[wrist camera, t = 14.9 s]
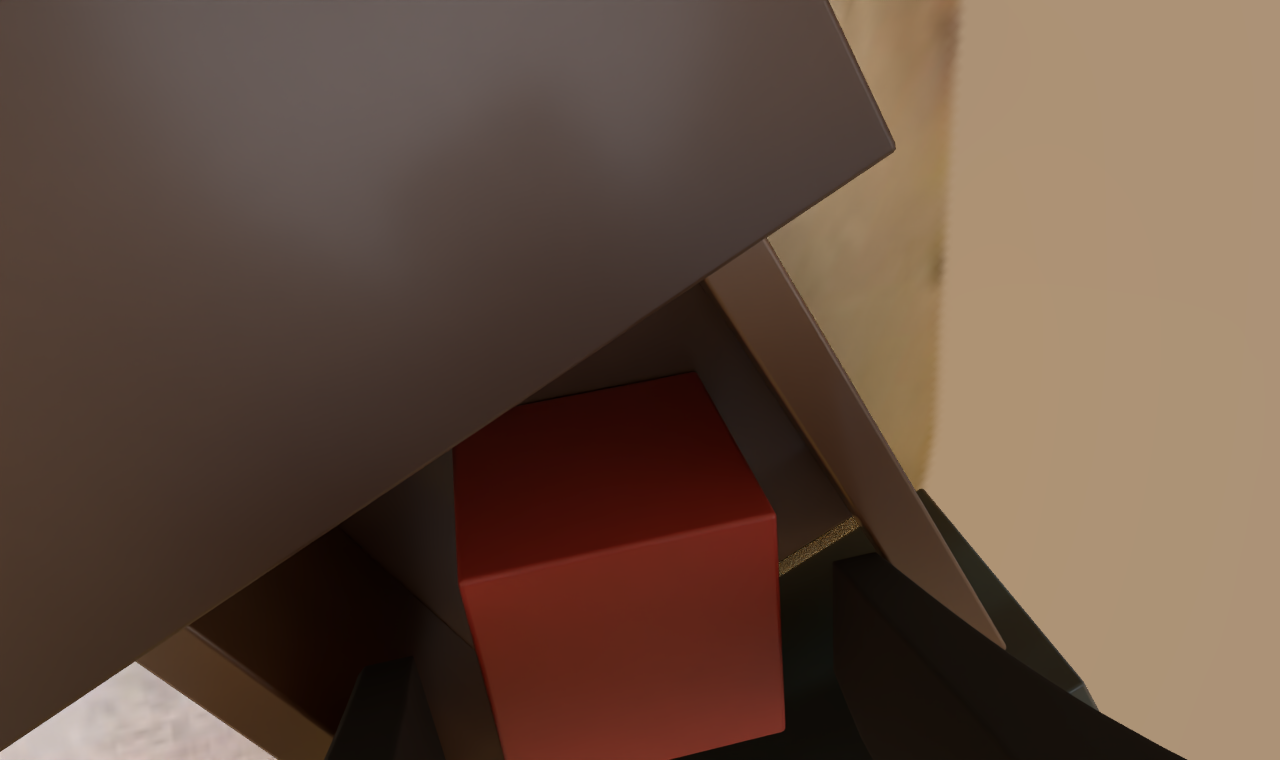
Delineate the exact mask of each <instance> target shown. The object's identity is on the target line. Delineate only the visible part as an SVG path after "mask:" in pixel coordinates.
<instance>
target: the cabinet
mask: <svg viewBox="0 0 1280 760" xmlns="http://www.w3.org/2000/svg"><path fill="white" fill-rule="evenodd" d="M895 149H896V147H895V142H894V140H893V137H892V135H891V133H890V131H889V129H888V127H887V125H886V122H885V120H884V118H883V116H882V114H881V112H880V110H879V107H878V105H877V103H876V101H875V99H874V97H873V95H872V93H871V90H870V88H869V86H868V84H867V82H866V80H865V78H864V75H863V73H862V71H861V69H860V67H859V65H858V63H857V61H856V58H855V56H854V54H853V52H852V50H851V48H850V46H849V43H848V41H847V39H846V37H845V35H844V33H843V31H842V28H841V26H840V24H839V22H838V20H837V18H836V16H835V14H834V11H833V9H832V7H831V5H830V3H829V1H828V0H0V752H1V751H2V750H4V749H5V748H7V747H8V746H10V745H11V744H13V743H14V742H16V741H17V740H18V739H20V738H21V737H23V736H24V735H26V734H27V733H29V732H30V731H32V730H33V729H35V728H36V727H38V726H39V725H41V724H42V723H44V722H45V721H47V720H48V719H50V718H51V717H53V716H54V715H56V714H57V713H59V712H60V711H62V710H63V709H65V708H66V707H68V706H69V705H71V704H72V703H74V702H75V701H77V700H78V699H80V698H81V697H83V696H84V695H86V694H87V693H89V692H90V691H91V690H93V689H94V688H96V687H97V686H99V685H100V684H102V683H103V682H105V681H106V680H108V679H109V678H111V677H112V676H114V675H115V674H117V673H118V672H120V671H121V670H123V669H124V668H126V667H127V666H129V665H130V664H132V663H133V662H135V661H136V660H138V659H139V658H141V657H142V656H144V655H145V654H147V653H148V652H150V651H151V650H153V649H154V648H156V647H157V646H159V645H160V644H162V643H163V642H164V641H166V640H167V639H169V638H170V637H172V636H173V635H175V634H176V633H178V632H179V631H181V630H182V629H184V628H185V627H187V626H188V625H190V624H191V623H193V622H194V621H196V620H197V619H199V618H200V617H202V616H203V615H205V614H206V613H208V612H209V611H211V610H212V609H214V608H215V607H217V606H218V605H220V604H221V603H223V602H224V601H226V600H227V599H229V598H230V597H232V596H233V595H235V594H236V593H237V592H239V591H240V590H242V589H243V588H245V587H246V586H248V585H249V584H251V583H252V582H254V581H255V580H257V579H258V578H260V577H261V576H263V575H264V574H266V573H267V572H269V571H270V570H272V569H273V568H275V567H276V566H278V565H279V564H281V563H282V562H284V561H285V560H287V559H288V558H290V557H291V556H293V555H294V554H296V553H297V552H299V551H300V550H302V549H303V548H305V547H306V546H308V545H309V544H310V543H312V542H313V541H315V540H316V539H318V538H319V537H321V536H322V535H324V534H325V533H327V532H328V531H330V530H331V529H333V528H334V527H336V526H337V525H339V524H340V523H342V522H343V521H345V520H346V519H348V518H349V517H351V516H352V515H354V514H355V513H357V512H358V511H360V510H361V509H363V508H364V507H366V506H367V505H369V504H370V503H372V502H373V501H375V500H376V499H378V498H379V497H380V496H382V495H383V494H385V493H386V492H388V491H389V490H391V489H392V488H394V487H395V486H397V485H398V484H400V483H401V482H403V481H404V480H406V479H407V478H409V477H410V476H412V475H413V474H415V473H416V472H418V471H419V470H421V469H422V468H424V467H425V466H427V465H428V464H430V463H431V462H433V461H434V460H436V459H437V458H439V457H440V456H442V455H443V454H445V453H446V452H448V451H449V450H451V449H452V448H453V447H455V446H456V445H458V444H459V443H461V442H462V441H464V440H465V439H467V438H468V437H470V436H471V435H473V434H474V433H476V432H477V431H479V430H480V429H482V428H483V427H485V426H486V425H488V424H489V423H491V422H492V421H494V420H495V419H497V418H498V417H500V416H501V415H503V414H504V413H506V412H507V411H509V410H510V409H512V408H513V407H515V406H516V405H518V404H519V403H521V402H522V401H524V400H525V399H526V398H528V397H529V396H531V395H532V394H534V393H535V392H537V391H538V390H540V389H541V388H543V387H544V386H546V385H547V384H549V383H550V382H552V381H553V380H555V379H556V378H558V377H559V376H561V375H562V374H564V373H565V372H567V371H568V370H570V369H571V368H573V367H574V366H576V365H577V364H579V363H580V362H582V361H583V360H585V359H586V358H588V357H589V356H591V355H592V354H594V353H595V352H597V351H598V350H599V349H601V348H602V347H604V346H605V345H607V344H608V343H610V342H611V341H613V340H614V339H616V338H617V337H619V336H620V335H622V334H623V333H625V332H626V331H628V330H629V329H631V328H632V327H634V326H635V325H637V324H638V323H640V322H641V321H643V320H644V319H646V318H647V317H649V316H650V315H652V314H653V313H655V312H656V311H658V310H659V309H661V308H662V307H664V306H665V305H667V304H668V303H670V302H671V301H672V300H674V299H675V298H677V297H678V296H680V295H681V294H683V293H684V292H686V291H687V290H689V289H690V288H692V287H693V286H695V285H696V284H698V283H699V282H701V281H702V280H704V279H705V278H707V277H708V276H710V275H711V274H713V273H714V272H716V271H717V270H719V269H720V268H722V267H723V266H725V265H726V264H728V263H729V262H731V261H732V260H734V259H735V258H737V257H738V256H740V255H741V254H743V253H744V252H745V251H747V250H748V249H750V248H751V247H753V246H754V245H756V244H757V243H759V242H760V241H762V240H763V239H765V238H766V237H768V236H769V235H771V234H772V233H774V232H775V231H777V230H778V229H780V228H781V227H783V226H784V225H786V224H787V223H789V222H790V221H792V220H793V219H795V218H796V217H798V216H799V215H801V214H802V213H804V212H805V211H807V210H808V209H810V208H811V207H813V206H814V205H816V204H817V203H818V202H820V201H821V200H823V199H824V198H826V197H827V196H829V195H830V194H832V193H833V192H835V191H836V190H838V189H839V188H841V187H842V186H844V185H845V184H847V183H848V182H850V181H851V180H853V179H854V178H856V177H857V176H859V175H860V174H862V173H863V172H865V171H866V170H868V169H869V168H871V167H872V166H874V165H875V164H877V163H878V162H880V161H881V160H883V159H884V158H886V157H887V156H889V155H890V154H891V153H893V152H894V151H895Z"/></svg>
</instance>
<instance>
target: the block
mask: <svg viewBox="0 0 1280 760" xmlns="http://www.w3.org/2000/svg"><path fill="white" fill-rule="evenodd" d="M452 459H453V483H454V507H455V530H456V554H457V578H458V587H459V591H460V595H461V598H462V602H463V606H464V610H465V613H466V617H467V621H468V625H469V628H470V632H471V636H472V640H473V643H474V647H475V651H476V654H477V658H478V662H479V666H480V669H481V673H482V677H483V681H484V684H485V688H486V692H487V696H488V699H489V703H490V707H491V711H492V714H493V718H494V722H495V726H496V729H497V733H498V737H499V741H500V744H501V748H502V752H503V756H504V759H505V760H670V759H675V758H679V757H683V756H687V755H691V754H695V753H699V752H703V751H707V750H711V749H715V748H719V747H723V746H727V745H731V744H735V743H739V742H743V741H747V740H751V739H755V738H759V737H763V736H767V735H771V734H776V733H780V732H782V731H784V730H785V703H784V680H783V656H782V633H781V609H780V586H779V562H778V539H777V515H776V513H775V512H774V510H773V508H772V506H771V505H770V503H769V501H768V499H767V497H766V496H765V494H764V492H763V490H762V488H761V487H760V485H759V483H758V481H757V479H756V478H755V476H754V474H753V472H752V471H751V469H750V467H749V465H748V463H747V462H746V460H745V458H744V456H743V454H742V453H741V451H740V449H739V447H738V445H737V444H736V442H735V440H734V438H733V437H732V435H731V433H730V431H729V429H728V428H727V426H726V424H725V422H724V420H723V419H722V417H721V415H720V413H719V411H718V410H717V408H716V406H715V404H714V403H713V401H712V399H711V397H710V395H709V394H708V392H707V390H706V388H705V386H704V385H703V383H702V381H701V379H700V377H699V376H698V374H697V373H696V372H690V373H685V374H679V375H674V376H669V377H664V378H659V379H654V380H649V381H643V382H638V383H633V384H628V385H623V386H618V387H612V388H607V389H602V390H597V391H592V392H587V393H582V394H576V395H571V396H566V397H561V398H556V399H551V400H545V401H540V402H535V403H530V404H525V405H520V406H515V407H513V408H512V409H510V410H509V411H507V412H506V413H504V414H503V415H501V416H500V417H498V418H497V419H495V420H494V421H492V422H491V423H489V424H488V425H486V426H485V427H483V428H482V429H480V430H479V431H477V432H476V433H474V434H473V435H471V436H470V437H468V438H467V439H465V440H464V441H462V442H461V443H459V444H458V445H456V446H455V447H453V448H452Z"/></svg>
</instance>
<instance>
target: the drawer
mask: <svg viewBox="0 0 1280 760" xmlns="http://www.w3.org/2000/svg"><path fill="white" fill-rule="evenodd" d="M690 372H696V373H697V374H698V376H699V377H700V379H701V381H702V383H703V385H704V386H705V388H706V390H707V392H708V394H709V395H710V397H711V399H712V401H713V403H714V404H715V406H716V408H717V410H718V411H719V413H720V415H721V417H722V419H723V420H724V422H725V424H726V426H727V428H728V429H729V431H730V433H731V435H732V437H733V438H734V440H735V442H736V444H737V445H738V447H739V449H740V451H741V453H742V454H743V456H744V458H745V460H746V462H747V463H748V465H749V467H750V469H751V471H752V472H753V474H754V476H755V478H756V479H757V481H758V483H759V485H760V487H761V488H762V490H763V492H764V494H765V496H766V497H767V499H768V501H769V503H770V505H771V506H772V508H773V510H774V512H775V513H776V515H777V539H778V562H780V561H782V560H784V559H785V558H787V557H788V556H790V555H792V554H793V553H795V552H796V551H798V550H800V549H801V548H803V547H804V546H806V545H807V544H809V543H811V542H812V541H814V540H815V539H817V538H819V537H820V536H822V535H823V534H825V533H827V532H828V531H830V530H831V529H833V528H835V527H836V526H838V525H839V524H841V523H843V522H844V521H846V520H847V519H849V518H851V517H852V516H853V518H854V519H855V521H856V522H857V524H858V525H859V527H858V528H857V529H855V530H853V531H852V532H850V533H849V534H847V535H845V536H844V537H842V538H841V539H839V540H837V541H836V542H834V543H833V544H831V545H830V546H828V547H826V548H825V549H823V550H822V551H820V552H818V553H817V554H815V555H814V556H812V557H810V558H809V559H807V560H806V561H804V562H802V563H801V564H799V565H798V566H796V567H794V568H793V569H791V570H790V571H788V572H786V573H785V574H783V575H782V576H780V577H779V586H780V609H781V633H782V656H783V680H784V703H785V730H784V731H782V732H780V733H776V734H771V735H767V736H763V737H759V738H755V739H751V740H747V741H743V742H739V743H735V744H731V745H727V746H723V747H719V748H715V749H711V750H707V751H703V752H699V753H695V754H691V755H687V756H683V757H679V758H675V759H670V760H873V759H872V757H871V755H870V753H869V752H868V750H867V748H866V746H865V744H864V742H863V740H862V738H861V736H860V734H859V731H858V729H857V727H856V724H855V722H854V720H853V717H852V715H851V713H850V710H849V708H848V705H847V703H846V700H845V698H844V696H843V693H842V691H841V688H840V686H839V683H838V681H837V678H836V676H835V673H834V671H833V561H837V560H841V559H845V558H850V557H854V556H859V555H863V554H868V553H872V552H876V553H877V554H879V555H880V556H881V557H883V558H884V559H885V560H887V561H888V562H889V563H891V564H892V565H893V566H894V567H896V568H897V569H898V570H900V571H901V572H902V573H903V574H905V575H906V576H907V577H908V578H910V579H911V580H912V581H914V582H915V583H916V584H917V585H919V586H920V587H921V588H922V589H924V590H925V591H926V592H928V593H929V594H930V595H931V596H933V597H934V598H935V599H937V600H938V601H939V602H941V603H942V604H943V605H944V606H946V607H947V608H948V609H950V610H951V611H952V612H954V613H955V614H956V615H958V616H959V617H960V618H962V619H963V620H964V621H966V622H967V623H968V624H970V625H971V626H972V627H974V628H975V629H976V630H978V631H979V632H981V633H982V634H983V635H985V636H986V637H987V638H989V639H990V640H992V641H993V642H994V643H996V644H997V645H999V646H1000V647H1001V648H1003V649H1004V650H1006V651H1007V652H1008V653H1010V654H1011V655H1013V656H1014V657H1015V658H1017V659H1018V660H1020V661H1021V662H1023V663H1024V664H1026V665H1027V666H1029V667H1030V668H1031V669H1033V670H1034V671H1036V672H1037V673H1039V674H1040V675H1042V676H1043V677H1045V678H1047V679H1048V680H1050V681H1051V682H1053V683H1054V684H1056V685H1057V686H1059V687H1060V688H1062V689H1063V690H1065V691H1067V692H1068V693H1070V694H1071V695H1073V696H1074V697H1076V698H1077V699H1079V700H1081V701H1082V702H1084V703H1086V704H1087V705H1089V706H1091V707H1092V708H1094V709H1096V710H1097V711H1099V710H1098V708H1097V706H1096V704H1095V702H1094V700H1093V699H1092V697H1091V695H1090V693H1089V691H1088V689H1087V687H1086V685H1085V684H1084V682H1083V681H1082V679H1081V678H1080V677H1079V676H1078V674H1077V673H1076V672H1075V671H1074V670H1073V668H1072V667H1071V666H1070V665H1069V664H1068V662H1067V661H1066V660H1065V659H1064V658H1063V657H1062V655H1061V654H1060V653H1059V652H1058V650H1057V649H1056V648H1055V647H1054V646H1053V644H1052V643H1051V642H1050V641H1049V640H1048V638H1047V637H1046V636H1045V635H1044V634H1043V632H1042V631H1041V630H1040V629H1039V628H1038V626H1037V625H1036V624H1035V623H1034V621H1033V620H1032V619H1031V618H1030V617H1029V615H1028V614H1027V613H1026V612H1025V611H1024V609H1023V608H1022V607H1021V606H1020V605H1019V604H1018V602H1017V601H1016V600H1015V599H1014V597H1013V596H1012V595H1011V594H1010V593H1009V591H1008V590H1007V589H1006V588H1005V587H1004V585H1003V584H1002V583H1001V582H1000V581H999V579H998V578H997V577H996V576H995V575H994V573H993V572H992V571H991V570H990V569H989V567H988V566H987V565H986V564H985V563H984V561H983V560H982V559H981V558H980V556H979V555H978V554H977V553H976V552H975V551H974V549H973V548H972V547H971V546H970V545H969V543H968V542H967V541H966V540H965V539H964V537H963V536H962V535H961V534H960V532H959V531H958V530H957V529H956V528H955V526H954V525H953V524H952V523H951V522H950V520H949V519H948V518H947V517H946V516H945V514H944V513H943V512H942V511H941V509H940V508H939V507H938V506H937V505H936V503H935V502H934V501H933V500H932V499H931V498H930V496H929V495H928V494H927V493H926V491H925V490H923V489H919V490H917V491H915V489H914V488H913V486H912V484H911V482H910V481H909V479H908V477H907V476H906V474H905V472H904V471H903V469H902V467H901V465H900V464H899V462H898V460H897V459H896V457H895V455H894V454H893V452H892V450H891V448H890V447H889V445H888V443H887V442H886V440H885V438H884V437H883V435H882V433H881V431H880V430H879V428H878V426H877V425H876V423H875V421H874V420H873V418H872V416H871V414H870V413H869V411H868V409H867V408H866V406H865V404H864V403H863V401H862V399H861V397H860V396H859V394H858V392H857V391H856V389H855V387H854V386H853V384H852V382H851V380H850V379H849V377H848V375H847V374H846V372H845V370H844V369H843V367H842V365H841V363H840V362H839V360H838V358H837V357H836V355H835V353H834V352H833V350H832V348H831V346H830V345H829V343H828V341H827V340H826V338H825V336H824V334H823V333H822V331H821V329H820V328H819V326H818V324H817V323H816V321H815V319H814V317H813V316H812V314H811V312H810V311H809V309H808V307H807V306H806V304H805V302H804V300H803V299H802V297H801V295H800V294H799V292H798V290H797V289H796V287H795V285H794V283H793V282H792V280H791V278H790V277H789V275H788V273H787V272H786V270H785V268H784V266H783V265H782V263H781V261H780V260H779V258H778V256H777V255H776V253H775V251H774V249H773V248H772V246H771V244H770V243H769V241H768V239H767V238H765V239H763V240H762V241H760V242H759V243H757V244H756V245H754V246H753V247H751V248H750V249H748V250H747V251H745V252H744V253H743V254H741V255H740V256H738V257H737V258H735V259H734V260H732V261H731V262H729V263H728V264H726V265H725V266H723V267H722V268H720V269H719V270H717V271H716V272H714V273H713V274H711V275H710V276H708V277H707V278H705V279H704V280H702V281H701V282H699V283H698V284H696V285H695V286H693V287H692V288H690V289H689V290H687V291H686V292H684V293H683V294H681V295H680V296H678V297H677V298H675V299H674V300H672V301H671V302H670V303H668V304H667V305H665V306H664V307H662V308H661V309H659V310H658V311H656V312H655V313H653V314H652V315H650V316H649V317H647V318H646V319H644V320H643V321H641V322H640V323H638V324H637V325H635V326H634V327H632V328H631V329H629V330H628V331H626V332H625V333H623V334H622V335H620V336H619V337H617V338H616V339H614V340H613V341H611V342H610V343H608V344H607V345H605V346H604V347H602V348H601V349H599V350H598V351H597V352H595V353H594V354H592V355H591V356H589V357H588V358H586V359H585V360H583V361H582V362H580V363H579V364H577V365H576V366H574V367H573V368H571V369H570V370H568V371H567V372H565V373H564V374H562V375H561V376H559V377H558V378H556V379H555V380H553V381H552V382H550V383H549V384H547V385H546V386H544V387H543V388H541V389H540V390H538V391H537V392H535V393H534V394H532V395H531V396H529V397H528V398H526V399H525V400H524V401H522V402H521V403H519V404H518V405H516V406H520V405H525V404H530V403H535V402H540V401H545V400H551V399H556V398H561V397H566V396H571V395H576V394H582V393H587V392H592V391H597V390H602V389H607V388H612V387H618V386H623V385H628V384H633V383H638V382H643V381H649V380H654V379H659V378H664V377H669V376H674V375H679V374H685V373H690ZM408 656H413V657H414V660H415V663H416V666H417V670H418V673H419V676H420V679H421V682H422V686H423V689H424V692H425V695H426V698H427V702H428V705H429V708H430V711H431V714H432V718H433V721H434V724H435V727H436V730H437V734H438V737H439V740H440V743H441V746H442V750H443V753H444V756H445V759H446V760H505V759H504V756H503V752H502V748H501V744H500V741H499V737H498V733H497V729H496V726H495V722H494V718H493V714H492V711H491V707H490V703H489V699H488V696H487V692H486V688H485V684H484V681H483V677H482V673H481V669H480V666H479V662H478V658H477V654H476V651H475V647H474V643H473V640H472V636H471V632H470V628H469V625H468V621H467V617H466V613H465V610H464V606H463V602H462V598H461V595H460V591H459V587H458V578H457V554H456V530H455V507H454V483H453V459H452V449H451V450H449V451H448V452H446V453H445V454H443V455H442V456H440V457H439V458H437V459H436V460H434V461H433V462H431V463H430V464H428V465H427V466H425V467H424V468H422V469H421V470H419V471H418V472H416V473H415V474H413V475H412V476H410V477H409V478H407V479H406V480H404V481H403V482H401V483H400V484H398V485H397V486H395V487H394V488H392V489H391V490H389V491H388V492H386V493H385V494H383V495H382V496H380V497H379V498H378V499H376V500H375V501H373V502H372V503H370V504H369V505H367V506H366V507H364V508H363V509H361V510H360V511H358V512H357V513H355V514H354V515H352V516H351V517H349V518H348V519H346V520H345V521H343V522H342V523H340V524H339V525H337V526H336V527H334V528H333V529H331V530H330V531H328V532H327V533H325V534H324V535H322V536H321V537H319V538H318V539H316V540H315V541H313V542H312V543H310V544H309V545H308V546H306V547H305V548H303V549H302V550H300V551H299V552H297V553H296V554H294V555H293V556H291V557H290V558H288V559H287V560H285V561H284V562H282V563H281V564H279V565H278V566H276V567H275V568H273V569H272V570H270V571H269V572H267V573H266V574H264V575H263V576H261V577H260V578H258V579H257V580H255V581H254V582H252V583H251V584H249V585H248V586H246V587H245V588H243V589H242V590H240V591H239V592H237V593H236V594H235V595H233V596H232V597H230V598H229V599H227V600H226V601H224V602H223V603H221V604H220V605H218V606H217V607H215V608H214V609H212V610H211V611H209V612H208V613H206V614H205V615H203V616H202V617H200V618H199V619H197V620H196V621H194V622H193V623H191V624H190V625H188V626H187V627H185V628H184V629H182V630H181V631H179V632H178V633H176V634H175V635H173V636H172V637H170V638H169V639H167V640H166V641H164V642H163V643H162V644H160V645H159V646H157V647H156V648H154V649H153V650H151V651H150V652H148V653H147V654H145V655H144V656H142V657H141V658H139V659H138V660H136V662H137V663H138V664H140V665H141V666H143V667H144V668H146V669H147V670H149V671H150V672H152V673H153V674H154V675H156V676H157V677H159V678H160V679H162V680H163V681H165V682H166V683H167V684H169V685H170V686H172V687H173V688H175V689H176V690H178V691H179V692H181V693H182V694H183V695H185V696H186V697H188V698H189V699H191V700H192V701H194V702H195V703H196V704H198V705H199V706H201V707H202V708H204V709H205V710H207V711H208V712H210V713H211V714H212V715H214V716H215V717H217V718H218V719H220V720H221V721H223V722H224V723H225V724H227V725H228V726H230V727H231V728H233V729H234V730H236V731H237V732H239V733H240V734H241V735H243V736H244V737H246V738H247V739H249V740H250V741H252V742H253V743H254V744H256V745H257V746H259V747H260V748H262V749H263V750H265V751H266V752H268V753H269V754H270V755H272V756H273V757H275V758H276V759H278V760H324V759H325V756H326V754H327V752H328V749H329V747H330V745H331V742H332V740H333V738H334V736H335V733H336V731H337V728H338V726H339V724H340V721H341V719H342V716H343V714H344V711H345V709H346V706H347V704H348V701H349V699H350V696H351V693H352V691H353V688H354V685H355V683H356V680H357V677H358V675H359V673H360V672H361V671H362V670H363V668H364V667H365V666H368V665H373V664H377V663H382V662H386V661H391V660H395V659H399V658H404V657H408Z"/></svg>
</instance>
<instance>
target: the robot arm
mask: <svg viewBox="0 0 1280 760" xmlns="http://www.w3.org/2000/svg"><path fill="white" fill-rule="evenodd" d="M833 671H834V673H835V676H836V678H837V681H838V683H839V686H840V688H841V691H842V693H843V696H844V698H845V700H846V703H847V705H848V708H849V710H850V713H851V715H852V717H853V720H854V722H855V724H856V727H857V729H858V731H859V734H860V736H861V738H862V740H863V742H864V744H865V746H866V748H867V750H868V752H869V753H870V755H871V757H872V759H873V760H1187V759H1185V758H1183V757H1181V756H1179V755H1177V754H1175V753H1173V752H1171V751H1169V750H1167V749H1165V748H1163V747H1162V746H1159V745H1158V744H1156V743H1154V742H1152V741H1150V740H1149V739H1147V738H1145V737H1143V736H1142V735H1140V734H1138V733H1136V732H1134V731H1133V730H1131V729H1129V728H1127V727H1125V726H1124V725H1122V724H1120V723H1118V722H1117V721H1115V720H1113V719H1111V718H1109V717H1108V716H1106V715H1104V714H1102V713H1101V712H1099V711H1097V710H1096V709H1094V708H1092V707H1091V706H1089V705H1087V704H1086V703H1084V702H1082V701H1081V700H1079V699H1077V698H1076V697H1074V696H1073V695H1071V694H1070V693H1068V692H1067V691H1065V690H1063V689H1062V688H1060V687H1059V686H1057V685H1056V684H1054V683H1053V682H1051V681H1050V680H1048V679H1047V678H1045V677H1043V676H1042V675H1040V674H1039V673H1037V672H1036V671H1034V670H1033V669H1031V668H1030V667H1029V666H1027V665H1026V664H1024V663H1023V662H1021V661H1020V660H1018V659H1017V658H1015V657H1014V656H1013V655H1011V654H1010V653H1008V652H1007V651H1006V650H1004V649H1003V648H1001V647H1000V646H999V645H997V644H996V643H994V642H993V641H992V640H990V639H989V638H987V637H986V636H985V635H983V634H982V633H981V632H979V631H978V630H976V629H975V628H974V627H972V626H971V625H970V624H968V623H967V622H966V621H964V620H963V619H962V618H960V617H959V616H958V615H956V614H955V613H954V612H952V611H951V610H950V609H948V608H947V607H946V606H944V605H943V604H942V603H941V602H939V601H938V600H937V599H935V598H934V597H933V596H931V595H930V594H929V593H928V592H926V591H925V590H924V589H922V588H921V587H920V586H919V585H917V584H916V583H915V582H914V581H912V580H911V579H910V578H908V577H907V576H906V575H905V574H903V573H902V572H901V571H900V570H898V569H897V568H896V567H894V566H893V565H892V564H891V563H889V562H888V561H887V560H885V559H884V558H883V557H881V556H880V555H879V554H877V553H876V552H872V553H868V554H863V555H859V556H854V557H850V558H845V559H841V560H837V561H833ZM324 760H446V759H445V756H444V753H443V750H442V746H441V743H440V740H439V737H438V734H437V730H436V727H435V724H434V721H433V718H432V714H431V711H430V708H429V705H428V702H427V698H426V695H425V692H424V689H423V686H422V682H421V679H420V676H419V673H418V670H417V666H416V663H415V660H414V657H413V656H408V657H404V658H399V659H395V660H391V661H386V662H382V663H377V664H373V665H368V666H365V667H364V668H363V670H362V671H361V672H360V673H359V675H358V677H357V680H356V683H355V685H354V688H353V691H352V693H351V696H350V699H349V701H348V704H347V706H346V709H345V711H344V714H343V716H342V719H341V721H340V724H339V726H338V728H337V731H336V733H335V736H334V738H333V740H332V742H331V745H330V747H329V749H328V752H327V754H326V756H325V759H324Z"/></svg>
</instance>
